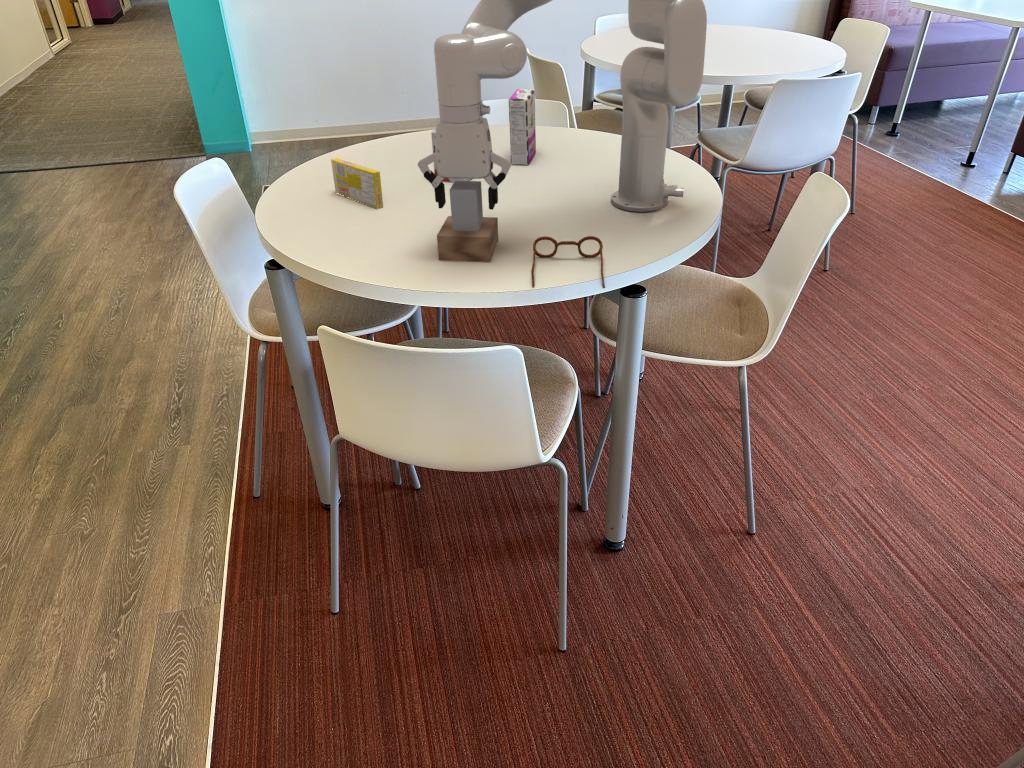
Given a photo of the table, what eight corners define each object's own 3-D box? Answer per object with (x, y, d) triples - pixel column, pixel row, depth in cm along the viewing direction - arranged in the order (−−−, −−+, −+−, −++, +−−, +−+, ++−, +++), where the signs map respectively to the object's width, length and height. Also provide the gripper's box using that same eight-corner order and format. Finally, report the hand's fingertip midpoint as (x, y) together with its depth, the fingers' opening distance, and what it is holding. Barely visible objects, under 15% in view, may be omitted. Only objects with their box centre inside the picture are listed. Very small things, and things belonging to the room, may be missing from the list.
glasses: (601, 258, 137) (603, 234, 134) (605, 289, 126) (606, 263, 123) (533, 259, 138) (532, 234, 135) (530, 289, 127) (530, 264, 124)
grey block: (483, 221, 139) (481, 181, 135) (478, 231, 135) (476, 190, 131) (458, 221, 140) (455, 180, 136) (452, 230, 136) (449, 189, 132)
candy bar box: (518, 152, 193) (516, 88, 184) (536, 153, 192) (535, 88, 183) (509, 165, 184) (507, 98, 175) (528, 166, 183) (527, 98, 174)
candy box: (385, 207, 162) (380, 170, 157) (377, 210, 161) (372, 173, 156) (342, 191, 171) (336, 157, 167) (335, 194, 170) (329, 159, 165)
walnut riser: (498, 241, 144) (497, 217, 141) (490, 262, 136) (489, 237, 133) (449, 239, 145) (448, 216, 142) (438, 260, 137) (436, 235, 134)
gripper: (512, 107, 128) (515, 200, 137) (418, 107, 130) (427, 198, 140) (506, 118, 122) (509, 215, 131) (407, 117, 124) (417, 212, 134)
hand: (467, 206), depth 136 cm, fingers open, 9 cm apart
